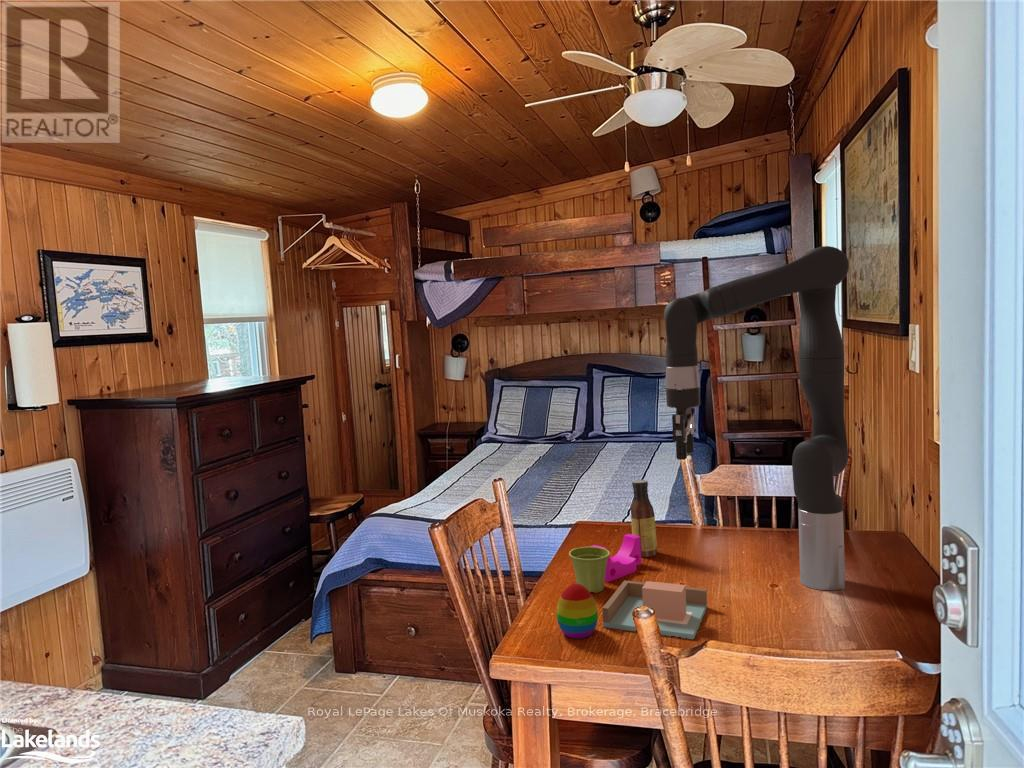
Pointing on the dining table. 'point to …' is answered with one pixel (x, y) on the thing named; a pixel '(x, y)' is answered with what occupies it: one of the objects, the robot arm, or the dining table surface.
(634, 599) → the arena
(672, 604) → the block
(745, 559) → the dining table surface
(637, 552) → the toy block
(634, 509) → the sauce bottle
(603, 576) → the plant pot
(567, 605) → the decorative egg
